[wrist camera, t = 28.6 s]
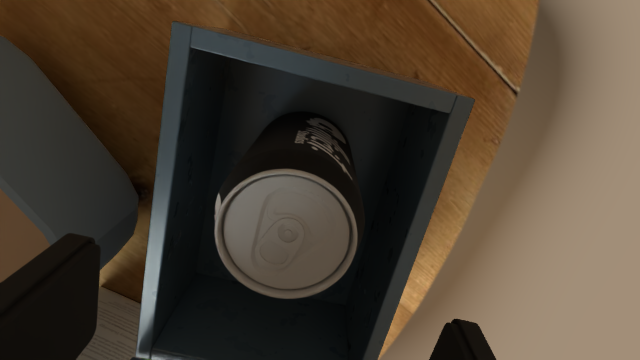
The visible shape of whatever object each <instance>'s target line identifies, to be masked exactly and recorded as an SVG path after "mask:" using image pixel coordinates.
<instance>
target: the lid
mask: <svg viewBox="0 0 640 360" xmlns="http://www.w3.org/2000/svg"><path fill="white" fill-rule="evenodd" d="M130 360H146V359H141V358H136V357H132V358H131V359H130Z"/></svg>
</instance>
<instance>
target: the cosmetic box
mask: <svg viewBox="0 0 640 360" xmlns="http://www.w3.org/2000/svg"><path fill="white" fill-rule="evenodd" d="M140 308H141V304H140V303H137V302H135V301H133V300H131V299H128V298H126V297H124V296H122V295H119V294H117V293H115V292H113V291H110V290H108V289H106V288H104V287H99V293H98V311H97V327H96V331H95V334H94V336H93V338H92V340H91V341H90V342H89V344H88V345H87V346H86V347H85V349H84V350H83V351H82V353H81V354H80V355H79V356H78V358H77V359H76V360H130V359H131V358H132V357H136V356H135V353H136V344H137V335H138V326H139V317H140ZM136 358H140V357H136ZM141 359H145V358H141ZM146 360H151V358H150V359H146Z"/></svg>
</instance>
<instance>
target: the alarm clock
mask: <svg viewBox="0 0 640 360" xmlns="http://www.w3.org/2000/svg"><path fill="white" fill-rule="evenodd" d="M138 202H139V197H138V195H137V193H136V191H135V189H134V187H133V185H132V183H131V181H130V179H129V177H128V175H127V173H126V172H125V171H124V170H123V168H122V167H121V166H120V165H119V164H118V162H117V161H116V160H115V159H114V158H113V156H112V155H111V154H110V153H109V152H108V150H107V149H106V148H105V147H104V146H103V144H102V143H101V142H100V141H99V140H98V138H97V137H96V136H95V135H94V133H93V132H92V131H91V130H90V129H89V127H88V126H87V125H86V124H85V123H84V121H83V120H82V119H81V118H80V117H79V115H78V114H77V113H76V112H75V111H74V109H73V108H72V107H71V106H70V105H69V103H68V102H67V101H66V100H65V99H64V97H63V96H62V95H61V94H60V93H59V91H58V90H57V89H56V88H55V87H54V85H53V84H52V83H51V82H50V80H49V79H48V78H47V77H46V76H45V74H44V73H43V72H42V71H41V70H40V68H39V67H38V66H37V65H36V64H35V62H34V61H33V60H32V59H31V58H30V57H29V56H27V55H26V54H25V53H24V52H22V51H21V50H20V49H19V48H17V47H16V46H15V45H14V44H12V43H11V42H10V41H9V40H7V39H6V38H5V37H3V36H0V283H1V282H2V281H4V280H5V279H6V278H8V277H9V276H10V275H12V274H13V273H14V272H16V271H17V270H18V269H20V268H21V267H23V266H24V265H25V264H27V263H28V262H29V261H31V260H32V259H33V258H35V257H36V256H37V255H39V254H40V253H41V252H43V251H44V250H45V249H47V248H48V247H49V246H51V245H52V244H54V243H55V242H56V241H58V240H59V239H60V238H62V237H63V236H64V235H66V234H68V233H74V234H79V235H83V236H88V237H92V238H94V240H95V244H97V245H99V246H100V247H101V257H100V270H101V269H102V268H103V267H104V266H105V265H106V264H107V263H108V262H109V261H110V260H111V259H112V258H113V257H114V256H115V255H116V254H117V253H118V252H119V251H120V250H121V249H122V248H123V246H124V245H125V244H126V243H127V242H128V240H129V239H130V238H131V237H132V236H133V234H134V230H135V226H136V223H137V216H138Z"/></svg>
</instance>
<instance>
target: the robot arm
mask: <svg viewBox="0 0 640 360" xmlns="http://www.w3.org/2000/svg"><path fill="white" fill-rule="evenodd" d="M100 257H101V247H100V246H99V245H97V244H95V240H94V238H92V237H88V236H83V235H79V234H74V233H68V234H66V235H64V236H63V237H62V238H60V239H59V240H58V241H56V242H55V243H54V244H52V245H51V246H49V247H48V248H47V249H45V250H44V251H43V252H41V253H40V254H39V255H37V256H36V257H35V258H33V259H32V260H31V261H29V262H28V263H27V264H25V265H24V266H23V267H21V268H20V269H18V270H17V271H16V272H14V273H13V274H12V275H10V276H9V277H8V278H6V279H5V280H4V281H2V282H1V283H0V360H76V359H77V358H78V356H79V355H80V354H81V353H82V351H83V350H84V349H85V347H86V346H87V345H88V344H89V342H90V341H91V340H92V338H93V336H94V334H95V331H96V327H97V311H98V293H99V275H100ZM429 360H496V358H495V356H494V354H493V352H492V350H491V349H490V346H489V345H488V343H487V341H486V339H485V337H484V335H483V333H482V331H481V329H480V327H479V326H478V324H476V323H473V322H469V321H465V320H460V319H454V320H453V321H452V322H451V323H446V324H445V326H444V328H443V330H442V332H441V335H440V336H439V339H438V341H437V343H436V345H435V348H434V350H433V352H432V355H431V357H430V359H429Z"/></svg>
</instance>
